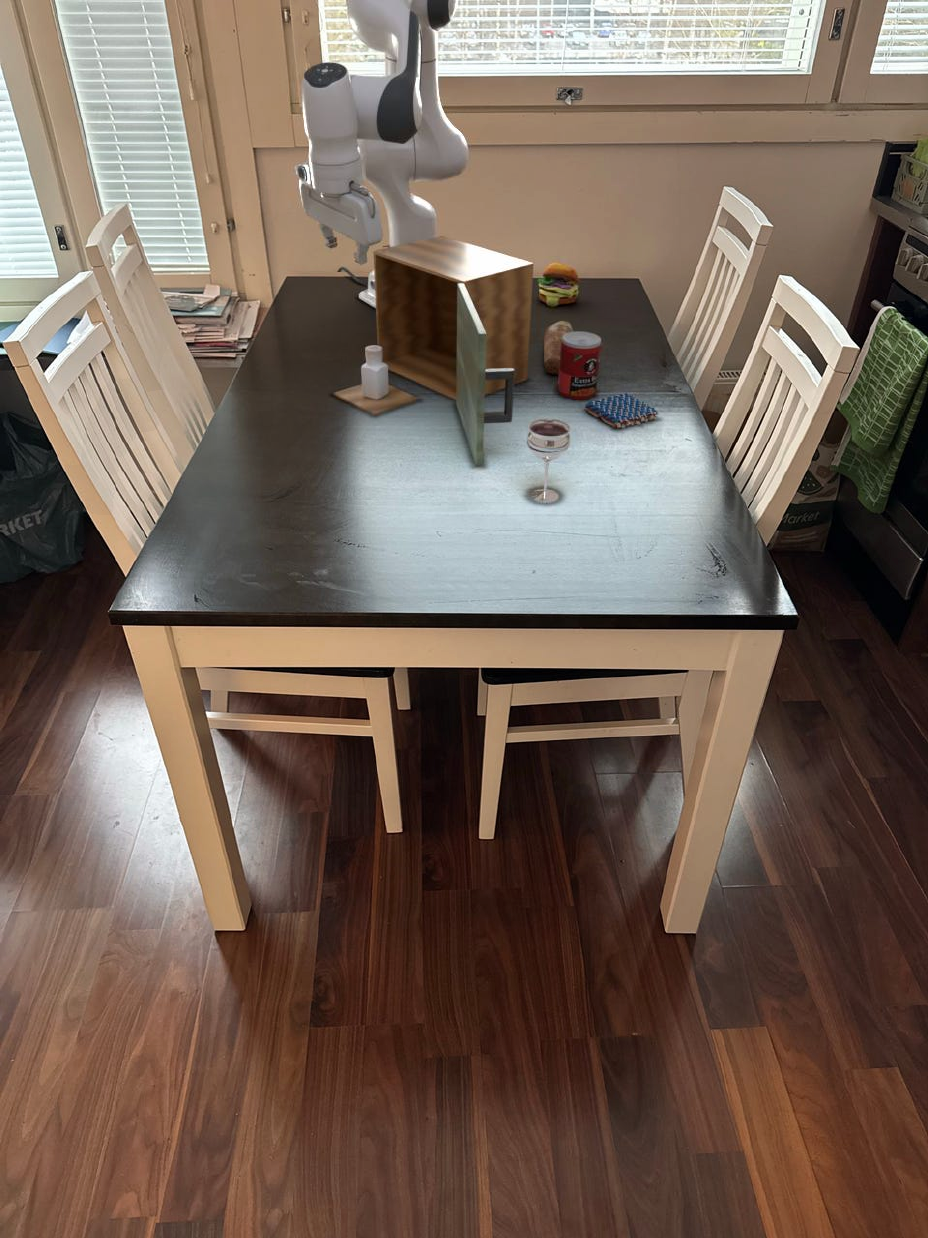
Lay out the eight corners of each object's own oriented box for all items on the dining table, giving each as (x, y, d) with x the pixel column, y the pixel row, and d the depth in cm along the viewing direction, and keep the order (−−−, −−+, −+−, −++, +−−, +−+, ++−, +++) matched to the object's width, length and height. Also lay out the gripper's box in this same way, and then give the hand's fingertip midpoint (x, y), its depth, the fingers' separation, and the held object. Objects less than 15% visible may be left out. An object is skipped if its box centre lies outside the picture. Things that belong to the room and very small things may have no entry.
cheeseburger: (530, 304, 227) (535, 261, 223) (542, 302, 236) (547, 261, 232) (569, 309, 224) (575, 265, 220) (580, 307, 233) (586, 265, 229)
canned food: (571, 402, 179) (576, 347, 173) (549, 388, 185) (553, 334, 178) (604, 396, 182) (610, 341, 176) (581, 381, 188) (586, 328, 181)
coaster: (333, 395, 181) (333, 392, 180) (377, 381, 187) (377, 378, 186) (374, 416, 173) (374, 413, 173) (418, 400, 179) (418, 398, 179)
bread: (573, 345, 204) (575, 320, 201) (565, 378, 189) (567, 351, 186) (545, 343, 205) (546, 318, 202) (534, 375, 190) (536, 349, 187)
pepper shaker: (390, 394, 180) (388, 347, 174) (377, 401, 177) (375, 353, 172) (373, 389, 182) (371, 342, 176) (361, 396, 179) (358, 348, 173)
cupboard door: (488, 402, 178) (492, 282, 165) (512, 464, 158) (519, 332, 144) (456, 404, 178) (457, 283, 164) (475, 466, 157) (478, 333, 143)
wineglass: (553, 510, 145) (559, 440, 138) (516, 499, 148) (519, 430, 141) (572, 493, 150) (579, 424, 143) (536, 482, 153) (540, 414, 146)
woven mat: (660, 419, 174) (662, 409, 172) (616, 431, 169) (617, 421, 168) (625, 400, 181) (626, 390, 179) (582, 411, 176) (583, 401, 175)
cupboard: (462, 403, 178) (464, 281, 165) (378, 365, 194) (373, 250, 180) (527, 380, 188) (533, 263, 174) (442, 345, 204) (441, 235, 190)
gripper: (388, 186, 153) (394, 267, 163) (319, 155, 164) (329, 233, 174) (357, 196, 150) (365, 278, 160) (289, 164, 161) (301, 242, 171)
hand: (346, 254), depth 167 cm, fingers open, 8 cm apart
